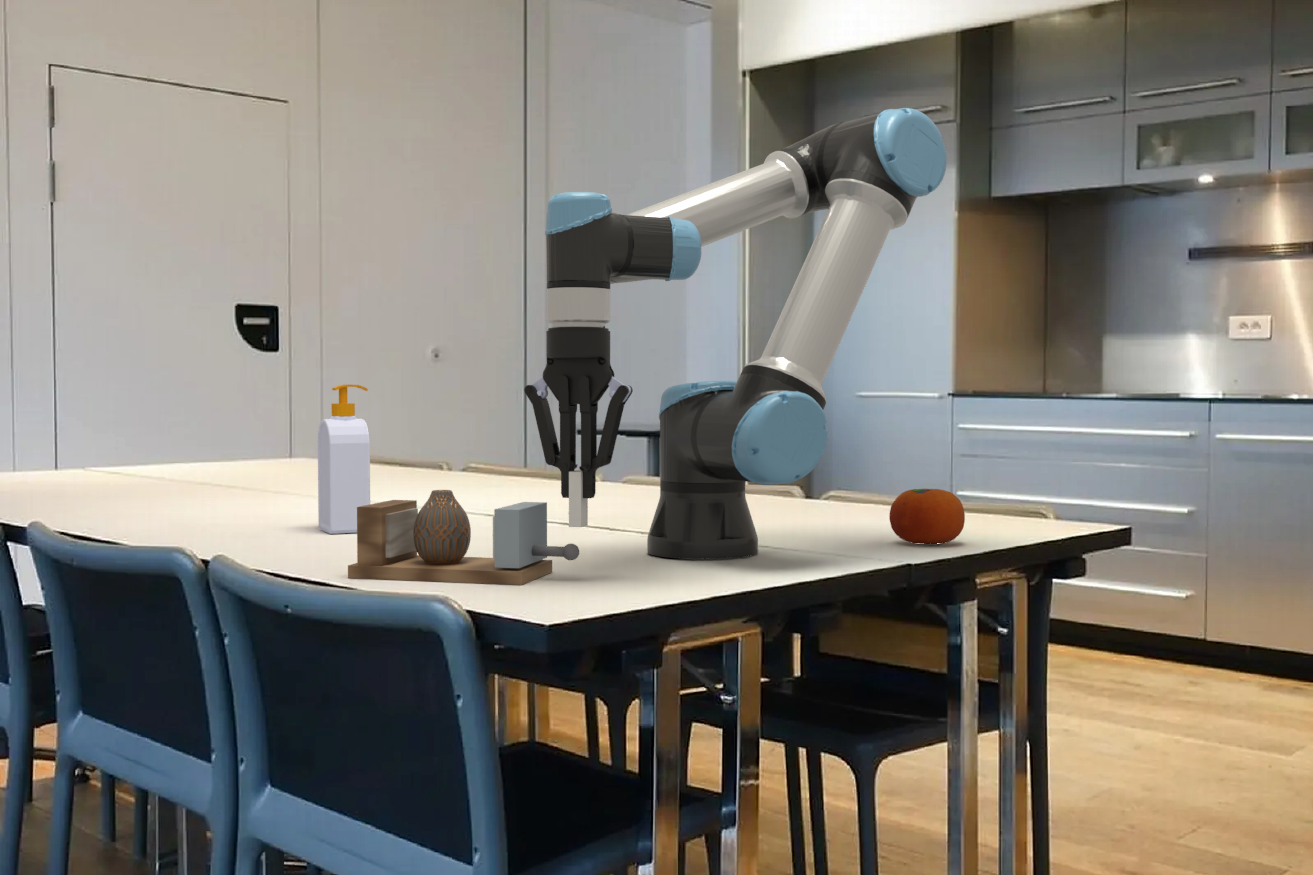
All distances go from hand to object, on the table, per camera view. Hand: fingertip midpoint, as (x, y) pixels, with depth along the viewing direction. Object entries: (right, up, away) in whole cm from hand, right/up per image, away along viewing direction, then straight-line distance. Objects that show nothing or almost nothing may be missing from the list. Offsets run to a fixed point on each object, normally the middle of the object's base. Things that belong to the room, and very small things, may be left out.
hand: (578, 525), depth 162 cm
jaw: (-4, -4, +1) cm, 7 cm away
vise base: (-16, -6, +4) cm, 17 cm away
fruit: (+48, -5, +36) cm, 61 cm away
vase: (-17, -5, +5) cm, 18 cm away
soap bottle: (-39, -4, +53) cm, 66 cm away
